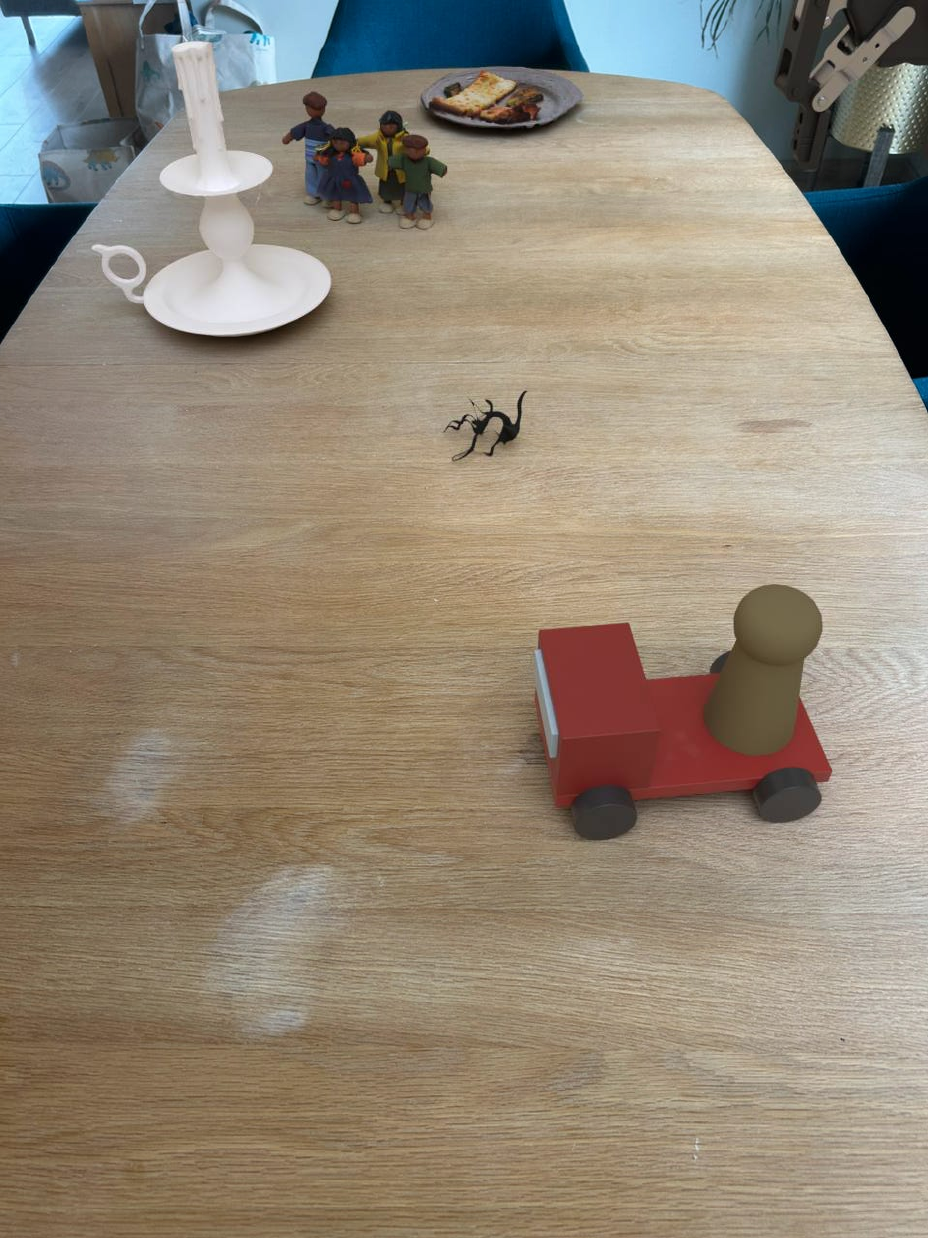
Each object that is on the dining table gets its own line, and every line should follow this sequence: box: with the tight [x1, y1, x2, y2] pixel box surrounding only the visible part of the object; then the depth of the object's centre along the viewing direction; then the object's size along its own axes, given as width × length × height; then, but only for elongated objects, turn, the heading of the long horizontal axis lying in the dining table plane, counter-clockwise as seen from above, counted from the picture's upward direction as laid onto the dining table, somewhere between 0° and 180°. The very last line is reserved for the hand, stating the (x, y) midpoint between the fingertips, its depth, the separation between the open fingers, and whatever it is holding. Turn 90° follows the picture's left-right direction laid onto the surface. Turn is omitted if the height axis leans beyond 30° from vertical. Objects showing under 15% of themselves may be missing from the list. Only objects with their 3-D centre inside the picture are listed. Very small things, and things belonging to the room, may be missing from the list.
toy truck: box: [532, 622, 833, 841], centre depth 66 cm, size 18×12×9 cm, turn 96°
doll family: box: [281, 90, 448, 230], centre depth 127 cm, size 23×9×13 cm, turn 80°
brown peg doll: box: [703, 583, 824, 756], centre depth 63 cm, size 6×6×11 cm
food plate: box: [420, 66, 584, 131], centre depth 155 cm, size 25×23×4 cm
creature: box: [442, 390, 528, 462], centre depth 93 cm, size 8×5×8 cm
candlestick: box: [91, 35, 332, 337], centre depth 103 cm, size 21×25×28 cm
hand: (869, 163), depth 65 cm, fingers open, 8 cm apart
